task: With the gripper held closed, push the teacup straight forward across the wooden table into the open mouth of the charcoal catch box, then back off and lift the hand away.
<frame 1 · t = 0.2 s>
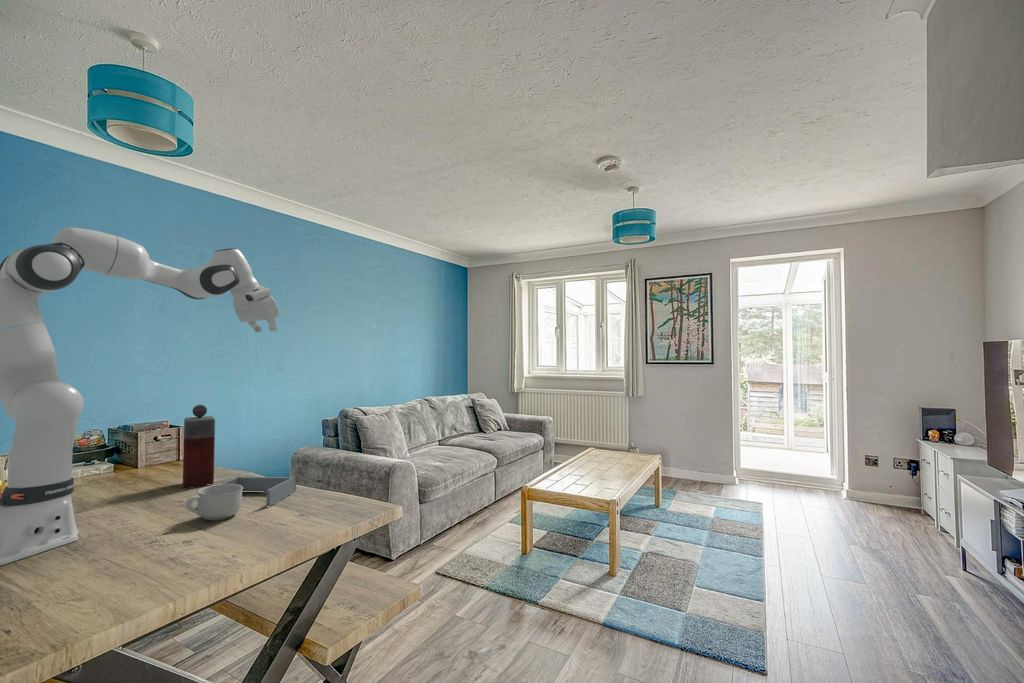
hand: (266, 331, 161), 54 cm above the table, tool tilted 30°, fingers open, 8 cm apart
teacup: (213, 519, 127), on the table
catch box: (252, 499, 145), on the table
dark red piece: (198, 483, 164), on the table
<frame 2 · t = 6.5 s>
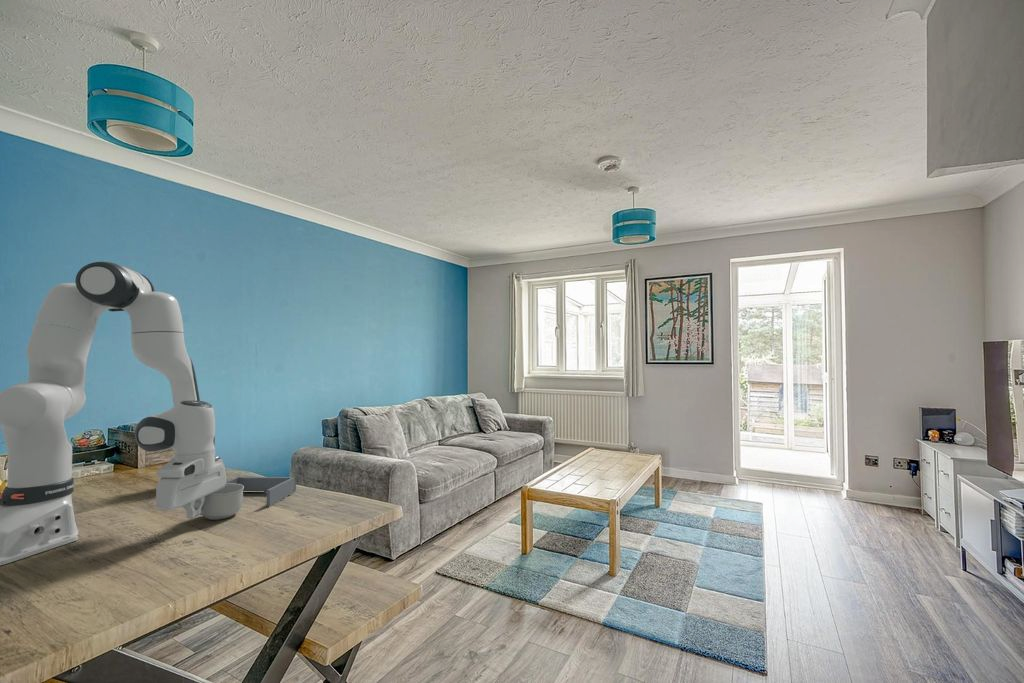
hand: (193, 516, 120), 3 cm above the table, tool pointing down, fingers closed
teacup: (214, 518, 128), on the table, touching gripper
everything else where it was.
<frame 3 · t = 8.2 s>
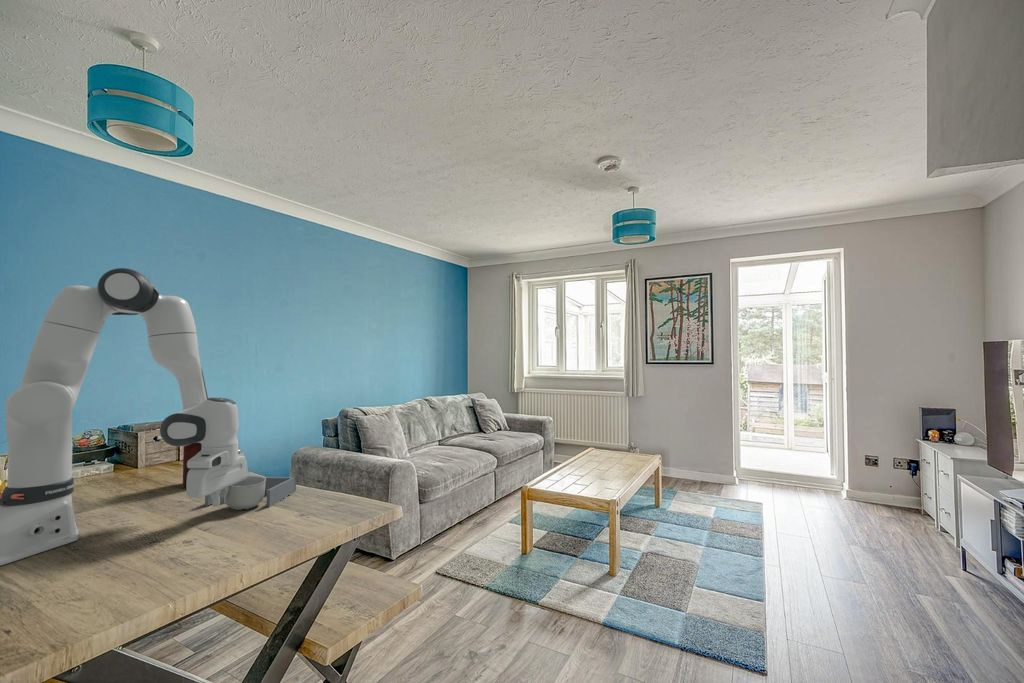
hand: (219, 504, 129), 3 cm above the table, tool pointing down, fingers closed
teacup: (238, 508, 136), on the table, touching gripper
everything else where it was.
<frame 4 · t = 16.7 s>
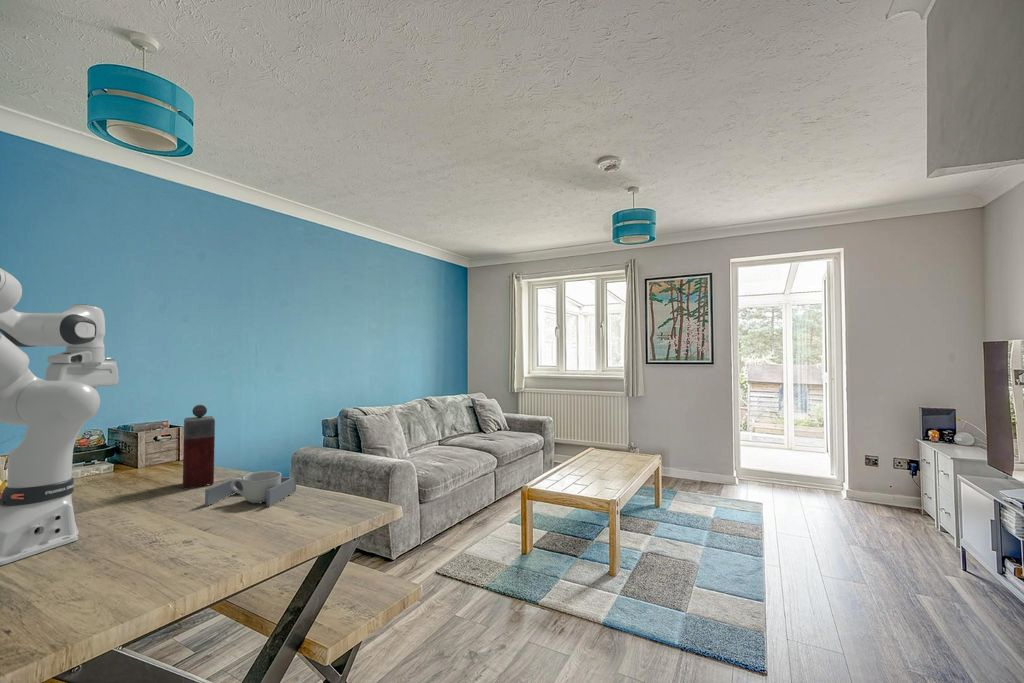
hand: (84, 402, 142), 31 cm above the table, tool pointing down, fingers closed
teacup: (256, 501, 143), on the table
everything else where it was.
at the end: teacup inside the target area (2.9 cm from its centre), on the table; teacup tilted 0° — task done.
